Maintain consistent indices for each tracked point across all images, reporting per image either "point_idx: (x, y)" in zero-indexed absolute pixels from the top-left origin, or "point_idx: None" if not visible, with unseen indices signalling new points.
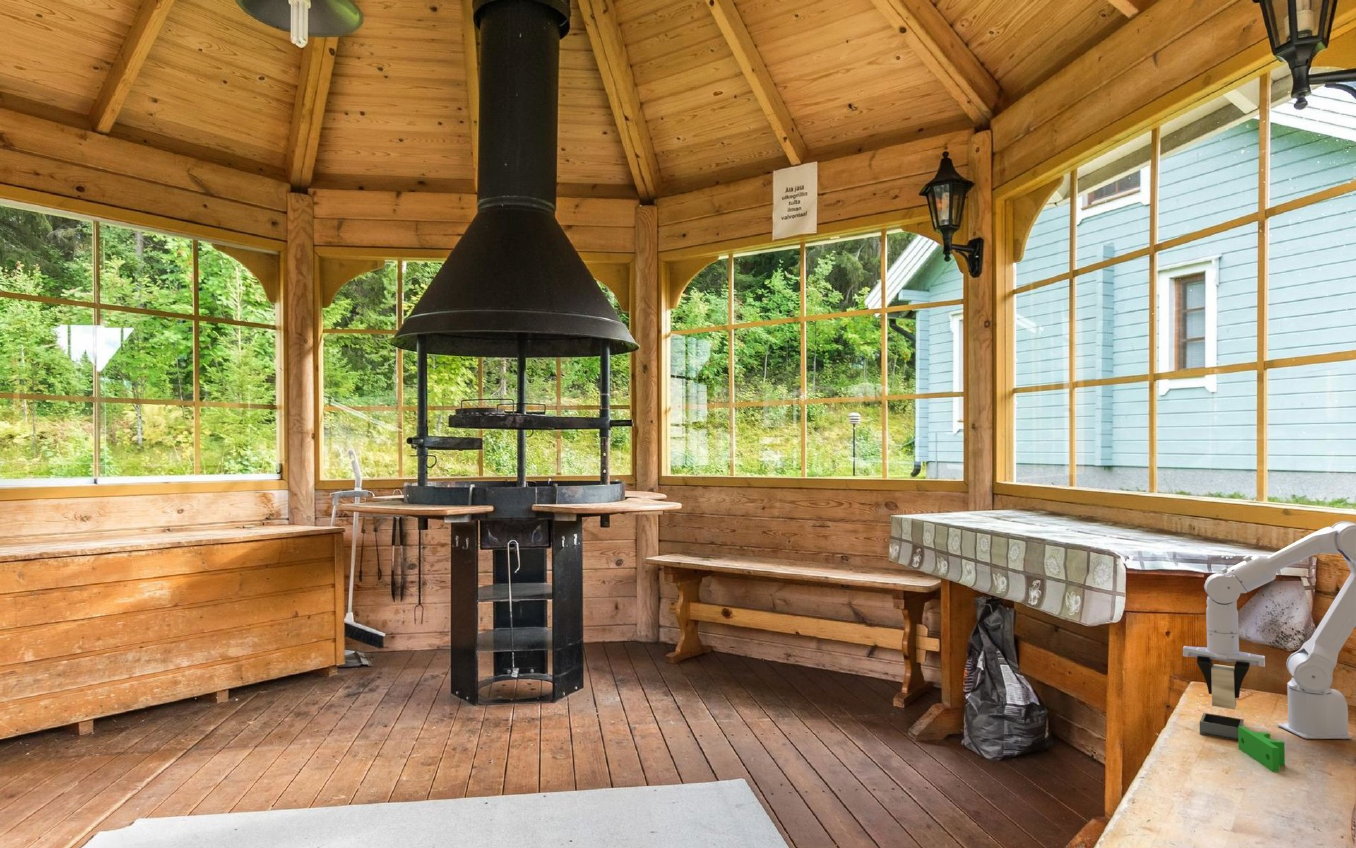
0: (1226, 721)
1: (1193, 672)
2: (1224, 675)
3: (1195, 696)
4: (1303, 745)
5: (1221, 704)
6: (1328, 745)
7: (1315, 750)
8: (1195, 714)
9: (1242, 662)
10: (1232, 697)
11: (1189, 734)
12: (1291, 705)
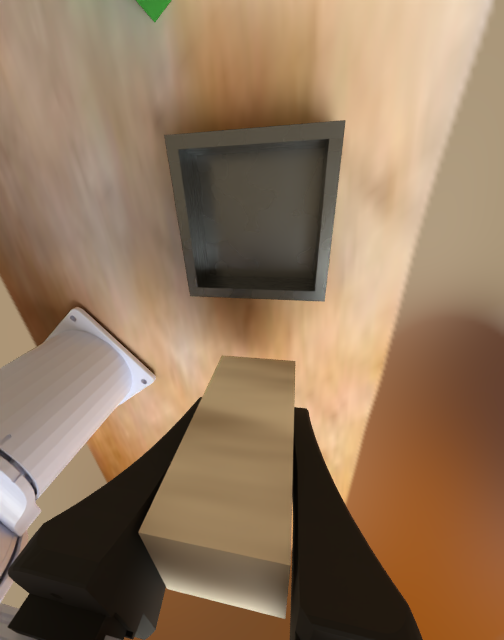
0: (246, 284)
1: None
2: (211, 495)
3: None
4: (62, 250)
5: (261, 365)
6: (34, 290)
7: (26, 220)
8: (344, 377)
9: (47, 638)
10: (214, 387)
11: (382, 88)
12: (59, 396)
